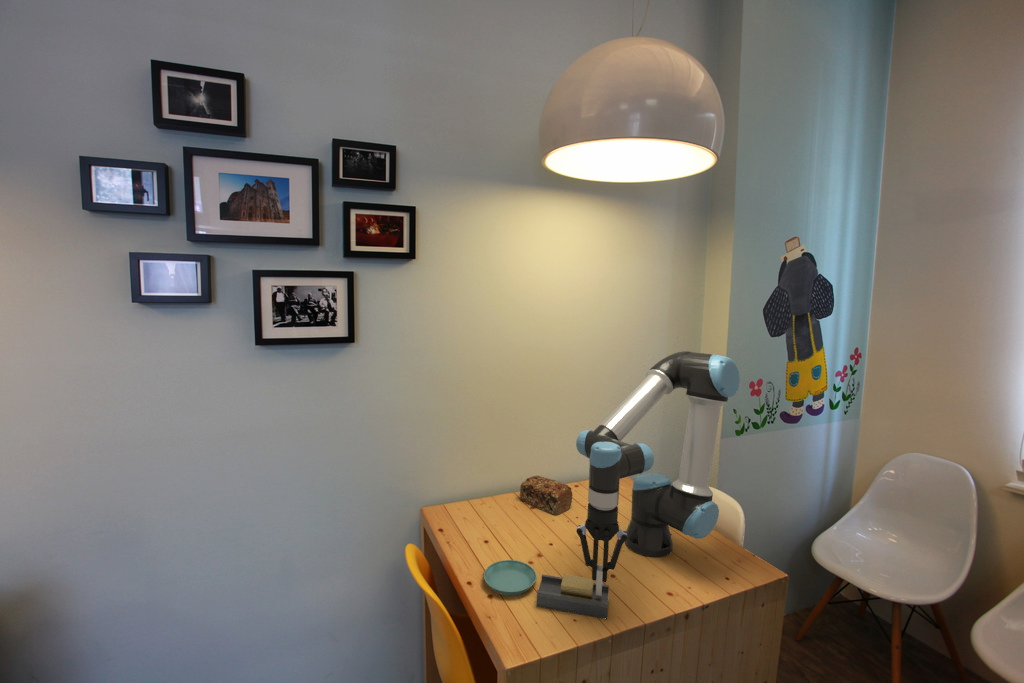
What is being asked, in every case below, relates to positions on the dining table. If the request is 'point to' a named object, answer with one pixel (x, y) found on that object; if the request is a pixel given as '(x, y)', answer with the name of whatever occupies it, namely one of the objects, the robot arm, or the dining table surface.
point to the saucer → (510, 577)
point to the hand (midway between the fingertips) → (598, 592)
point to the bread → (546, 494)
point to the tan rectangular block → (577, 586)
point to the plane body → (571, 599)
